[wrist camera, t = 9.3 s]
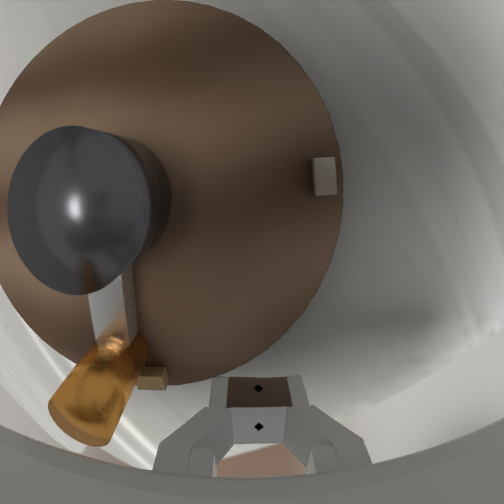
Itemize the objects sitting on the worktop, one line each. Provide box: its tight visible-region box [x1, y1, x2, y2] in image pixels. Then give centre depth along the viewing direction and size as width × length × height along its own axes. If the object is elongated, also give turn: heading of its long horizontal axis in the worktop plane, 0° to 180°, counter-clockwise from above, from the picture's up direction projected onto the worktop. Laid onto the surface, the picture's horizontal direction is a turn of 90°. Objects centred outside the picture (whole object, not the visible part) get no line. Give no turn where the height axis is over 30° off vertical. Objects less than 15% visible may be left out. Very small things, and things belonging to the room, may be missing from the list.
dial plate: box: [0, 0, 343, 390], centre depth 11 cm, size 18×18×2 cm
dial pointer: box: [7, 125, 172, 447], centre depth 9 cm, size 10×5×5 cm, turn 177°
